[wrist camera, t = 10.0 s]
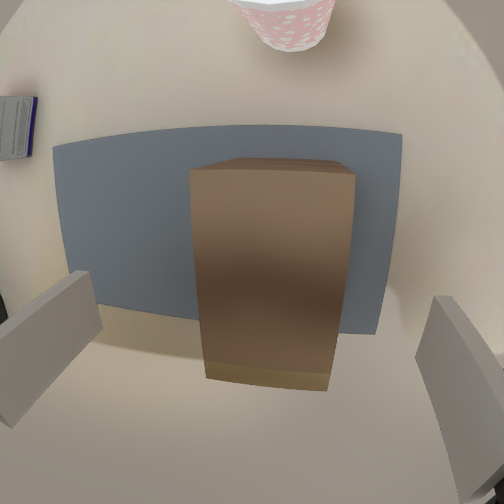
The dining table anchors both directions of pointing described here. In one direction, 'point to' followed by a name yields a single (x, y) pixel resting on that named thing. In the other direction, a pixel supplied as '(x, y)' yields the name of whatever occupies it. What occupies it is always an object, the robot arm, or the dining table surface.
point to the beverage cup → (287, 21)
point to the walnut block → (271, 267)
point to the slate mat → (179, 209)
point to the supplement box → (16, 126)
